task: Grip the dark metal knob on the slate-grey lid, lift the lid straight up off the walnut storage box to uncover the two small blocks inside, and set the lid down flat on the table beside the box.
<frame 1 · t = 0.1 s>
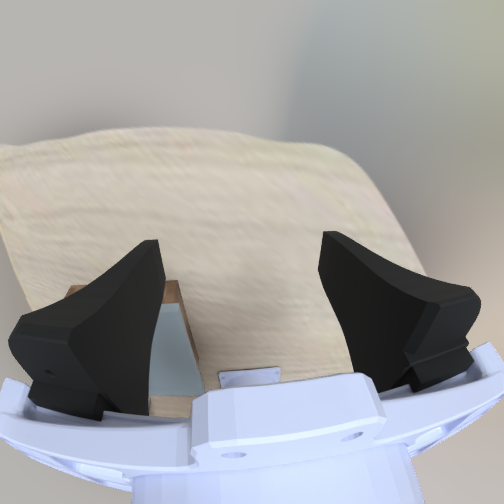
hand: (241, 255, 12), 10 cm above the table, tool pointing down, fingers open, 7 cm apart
lid: (129, 354, 24), point 4 cm above the table, touching storage box
storage box: (136, 326, 27), on the table
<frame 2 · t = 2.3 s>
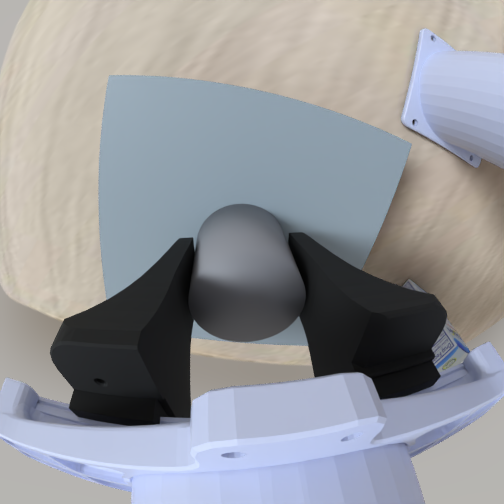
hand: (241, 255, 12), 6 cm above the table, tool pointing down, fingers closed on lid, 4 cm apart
lid: (239, 234, 13), point 4 cm above the table, touching gripper, off-white block, storage box
medicine box: (390, 311, 24), on the table
when the fingers open (4 cm above the table, at t = 6.8 s): lid drops 1 cm, on the table.
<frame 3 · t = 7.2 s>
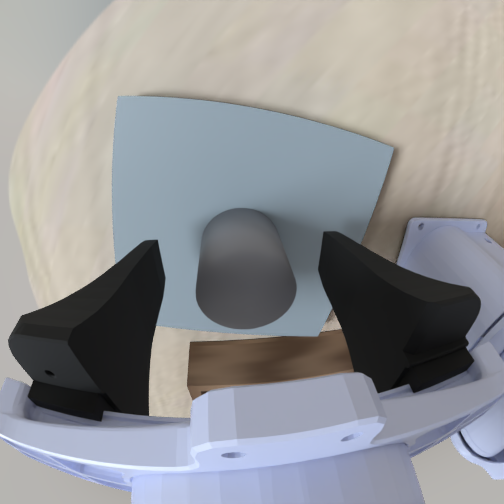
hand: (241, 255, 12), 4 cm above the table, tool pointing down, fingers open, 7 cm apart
lid: (239, 234, 15), on the table
storage box: (265, 378, 24), on the table
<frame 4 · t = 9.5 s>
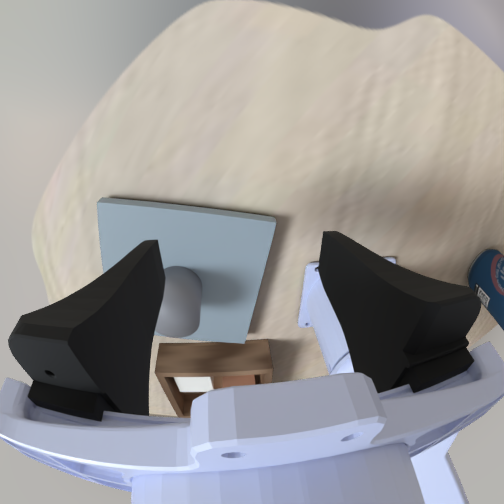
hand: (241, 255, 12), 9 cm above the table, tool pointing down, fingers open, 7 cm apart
lid: (180, 278, 23), on the table
off-white block: (194, 364, 30), resting on storage box
terracotta block: (238, 383, 33), resting on storage box
storage box: (217, 372, 32), on the table
soda can: (479, 265, 28), on the table
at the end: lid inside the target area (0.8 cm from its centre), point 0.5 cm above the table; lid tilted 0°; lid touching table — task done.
